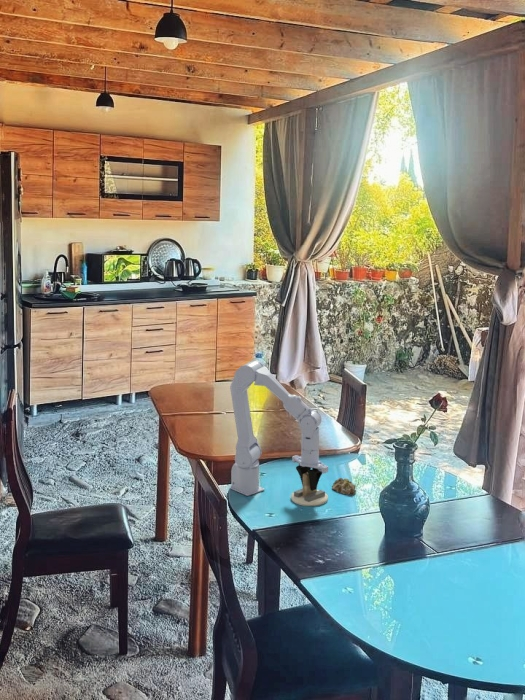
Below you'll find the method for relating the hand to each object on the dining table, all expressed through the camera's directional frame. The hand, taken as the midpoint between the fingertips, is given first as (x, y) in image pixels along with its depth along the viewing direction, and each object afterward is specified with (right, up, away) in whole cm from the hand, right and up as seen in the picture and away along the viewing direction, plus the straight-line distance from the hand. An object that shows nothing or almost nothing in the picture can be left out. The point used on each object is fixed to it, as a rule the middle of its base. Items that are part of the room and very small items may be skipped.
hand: (309, 488), depth 238 cm
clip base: (0, -4, +1) cm, 4 cm away
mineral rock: (+13, -3, +9) cm, 15 cm away
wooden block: (0, -3, 0) cm, 3 cm away
